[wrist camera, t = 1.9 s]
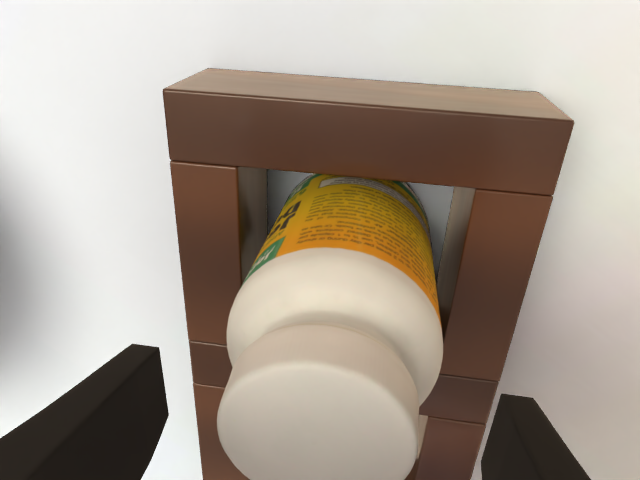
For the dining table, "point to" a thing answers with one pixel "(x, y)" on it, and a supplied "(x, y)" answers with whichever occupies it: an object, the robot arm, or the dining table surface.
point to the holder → (374, 163)
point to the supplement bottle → (334, 337)
